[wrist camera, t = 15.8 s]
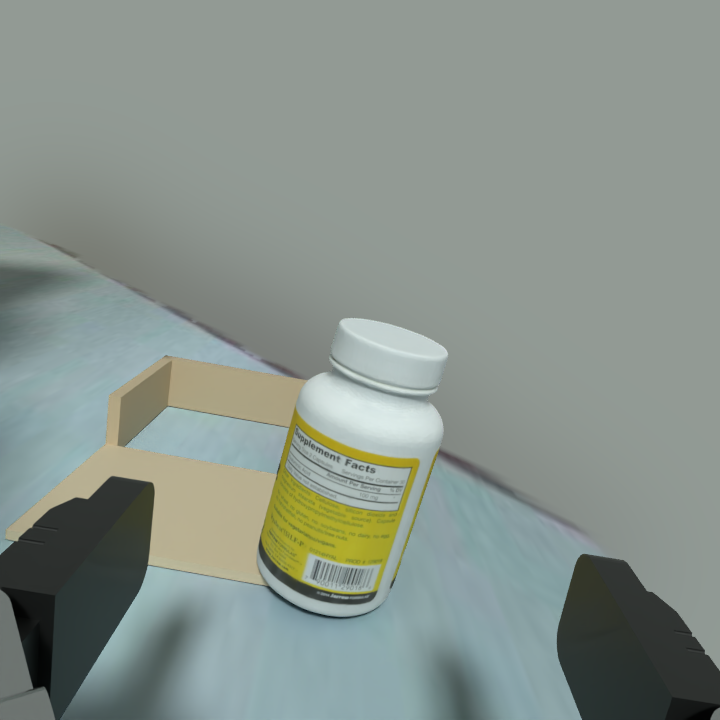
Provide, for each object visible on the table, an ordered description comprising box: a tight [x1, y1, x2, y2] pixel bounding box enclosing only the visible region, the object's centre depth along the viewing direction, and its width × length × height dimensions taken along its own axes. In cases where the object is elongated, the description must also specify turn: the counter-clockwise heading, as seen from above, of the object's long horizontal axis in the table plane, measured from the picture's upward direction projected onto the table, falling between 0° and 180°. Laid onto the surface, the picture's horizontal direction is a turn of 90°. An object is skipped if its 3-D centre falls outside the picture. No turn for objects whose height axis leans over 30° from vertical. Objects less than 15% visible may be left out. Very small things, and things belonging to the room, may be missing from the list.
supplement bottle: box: [257, 318, 448, 617], centre depth 23 cm, size 5×5×10 cm
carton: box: [6, 356, 307, 586], centre depth 31 cm, size 17×11×3 cm
